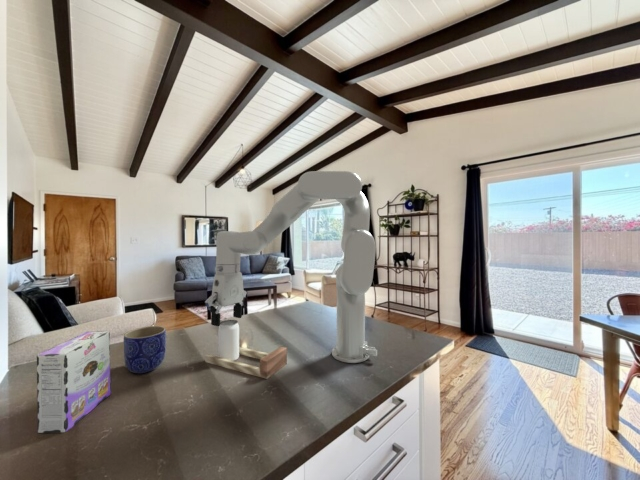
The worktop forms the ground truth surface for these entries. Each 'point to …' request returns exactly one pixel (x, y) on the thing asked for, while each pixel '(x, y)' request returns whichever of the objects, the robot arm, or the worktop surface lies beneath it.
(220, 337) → the can
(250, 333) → the worktop surface
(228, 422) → the worktop surface
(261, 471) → the worktop surface
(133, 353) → the planter
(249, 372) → the rail channel
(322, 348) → the worktop surface
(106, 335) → the candy box
